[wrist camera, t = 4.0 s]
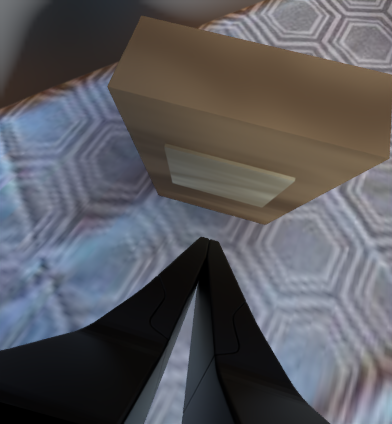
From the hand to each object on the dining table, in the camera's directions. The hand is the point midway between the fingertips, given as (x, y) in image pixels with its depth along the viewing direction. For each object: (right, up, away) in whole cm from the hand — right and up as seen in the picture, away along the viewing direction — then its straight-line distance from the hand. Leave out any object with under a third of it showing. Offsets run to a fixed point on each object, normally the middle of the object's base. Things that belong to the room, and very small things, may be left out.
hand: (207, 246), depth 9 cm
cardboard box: (+2, +4, +12) cm, 12 cm away
